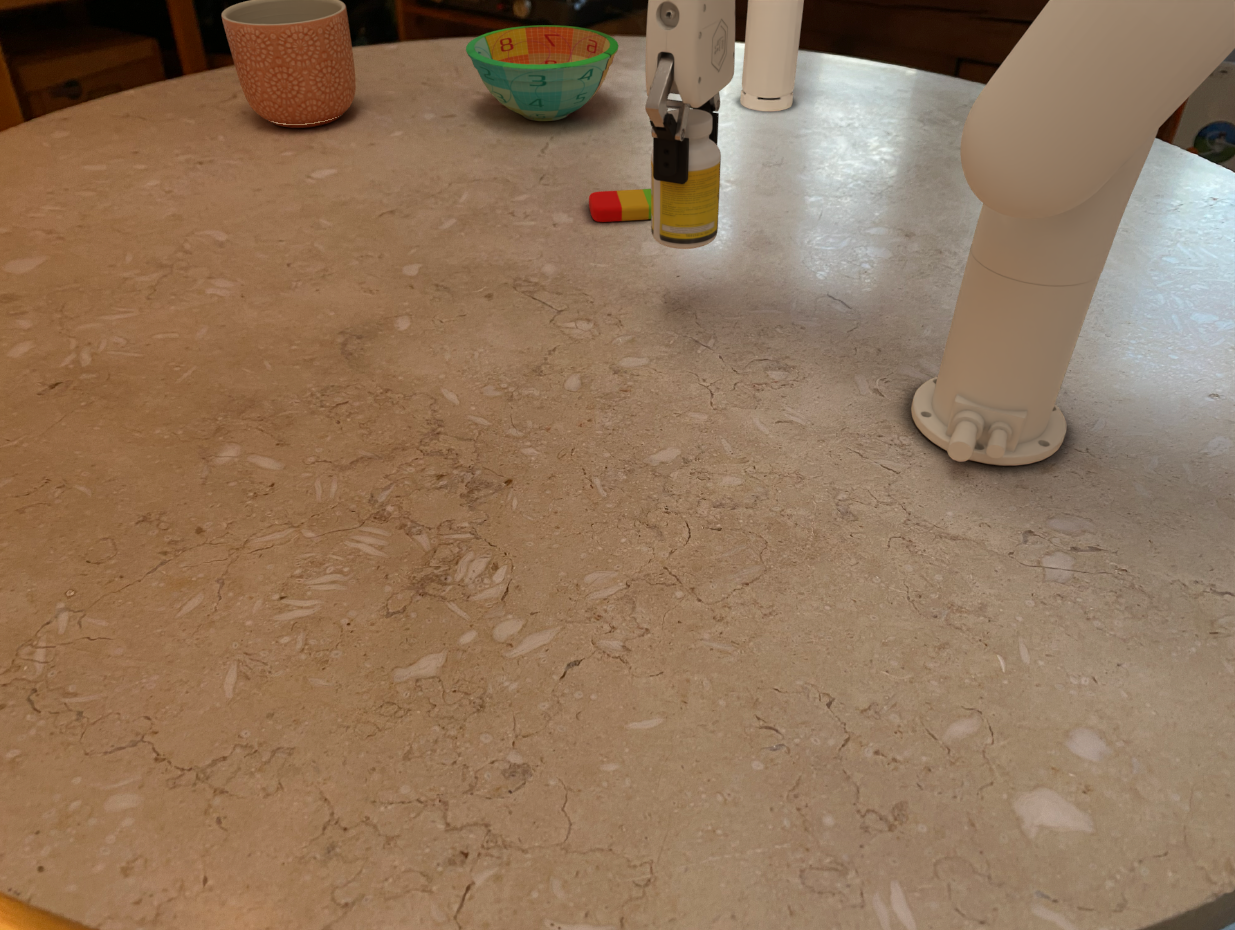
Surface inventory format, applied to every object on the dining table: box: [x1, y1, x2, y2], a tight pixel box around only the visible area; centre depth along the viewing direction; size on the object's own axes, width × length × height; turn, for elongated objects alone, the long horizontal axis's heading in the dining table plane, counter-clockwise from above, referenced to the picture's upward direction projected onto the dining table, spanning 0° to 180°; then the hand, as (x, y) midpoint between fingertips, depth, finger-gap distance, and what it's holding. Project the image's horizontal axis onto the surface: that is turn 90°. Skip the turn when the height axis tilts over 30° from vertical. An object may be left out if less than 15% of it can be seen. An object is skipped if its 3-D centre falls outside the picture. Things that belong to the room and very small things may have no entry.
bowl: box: [465, 24, 619, 122], centre depth 140 cm, size 22×22×10 cm
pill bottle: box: [650, 108, 722, 250], centre depth 88 cm, size 6×6×12 cm
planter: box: [221, 0, 357, 129], centre depth 138 cm, size 17×17×15 cm
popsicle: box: [588, 188, 651, 223], centre depth 115 cm, size 6×15×2 cm, turn 98°
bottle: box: [739, 0, 805, 112], centre depth 138 cm, size 8×8×28 cm
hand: (685, 165), depth 87 cm, fingers closed on pill bottle, 6 cm apart
